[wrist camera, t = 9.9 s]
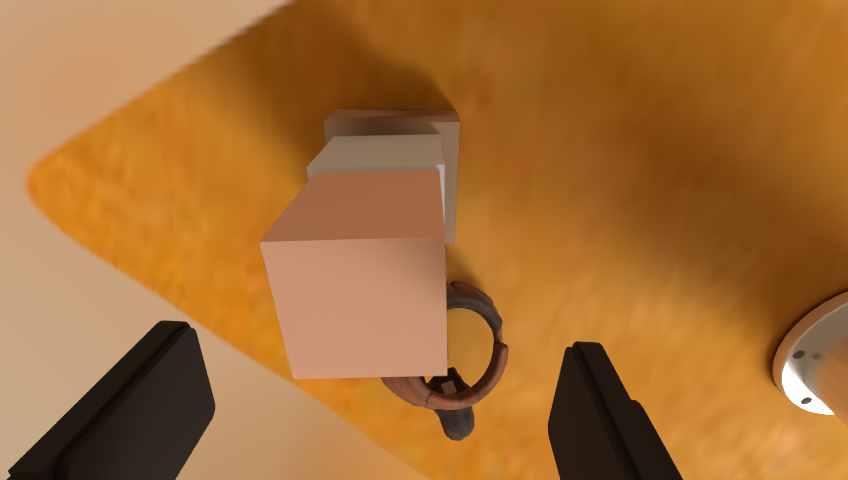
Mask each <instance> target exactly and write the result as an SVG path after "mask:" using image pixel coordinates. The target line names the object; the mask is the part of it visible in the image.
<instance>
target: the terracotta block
mask: <svg viewBox="0 0 848 480" xmlns="http://www.w3.org/2000/svg"><path fill="white" fill-rule="evenodd" d="M260 246H261V250H262V254H263V258H264V262H265V266H266V270H267V275H268V279H269V283H270V287H271V291H272V295H273V299H274V303H275V307H276V311H277V315H278V319H279V323H280V327H281V332H282V336H283V340H284V344H285V348H286V352H287V356H288V360H289V364H290V368H291V372H292V376H293V379H316V378H362V377H408V376H447V311H446V236H445V225H444V215H443V204H442V193H441V182H440V172H439V170H408V171H378V172H347V173H316V174H314V175H313V176H312V177H311V178H310V180H309V181H308V182H307V183H306V185H305V186H304V187H303V188H302V190H301V191H300V192H299V193H298V195H297V196H296V197H295V198H294V200H293V201H292V202H291V203H290V205H289V206H288V207H287V208H286V210H285V211H284V212H283V213H282V215H281V216H280V217H279V218H278V220H277V221H276V222H275V223H274V225H273V226H272V227H271V228H270V230H269V231H268V232H267V233H266V235H265V236H264V237H263V238H262V240H261V241H260Z"/></svg>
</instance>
